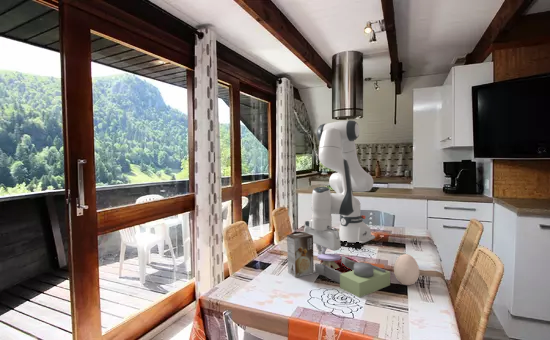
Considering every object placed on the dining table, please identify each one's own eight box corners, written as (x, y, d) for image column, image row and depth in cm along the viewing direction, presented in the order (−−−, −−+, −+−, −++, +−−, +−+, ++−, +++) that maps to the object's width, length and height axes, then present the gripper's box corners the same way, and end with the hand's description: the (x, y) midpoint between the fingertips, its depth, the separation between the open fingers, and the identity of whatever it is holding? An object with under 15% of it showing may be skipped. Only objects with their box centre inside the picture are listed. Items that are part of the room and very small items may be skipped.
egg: (390, 279, 113) (390, 250, 113) (412, 279, 113) (413, 250, 113) (399, 289, 105) (399, 258, 104) (423, 289, 104) (423, 258, 104)
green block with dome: (370, 276, 116) (370, 257, 116) (390, 285, 108) (390, 264, 108) (340, 287, 107) (339, 266, 106) (359, 297, 99) (359, 274, 99)
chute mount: (343, 264, 130) (343, 255, 129) (371, 276, 116) (371, 266, 116) (314, 273, 120) (314, 263, 120) (342, 286, 107) (342, 276, 107)
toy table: (341, 266, 127) (341, 253, 127) (340, 274, 119) (340, 260, 118) (318, 264, 130) (318, 251, 130) (316, 272, 121) (316, 258, 121)
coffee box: (305, 268, 126) (305, 231, 125) (314, 273, 120) (313, 235, 119) (287, 272, 121) (286, 234, 121) (295, 278, 116) (294, 238, 115)
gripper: (343, 227, 121) (343, 260, 122) (312, 219, 138) (312, 247, 139) (332, 230, 118) (332, 263, 118) (301, 220, 135) (301, 250, 135)
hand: (321, 255), depth 129 cm, fingers closed
